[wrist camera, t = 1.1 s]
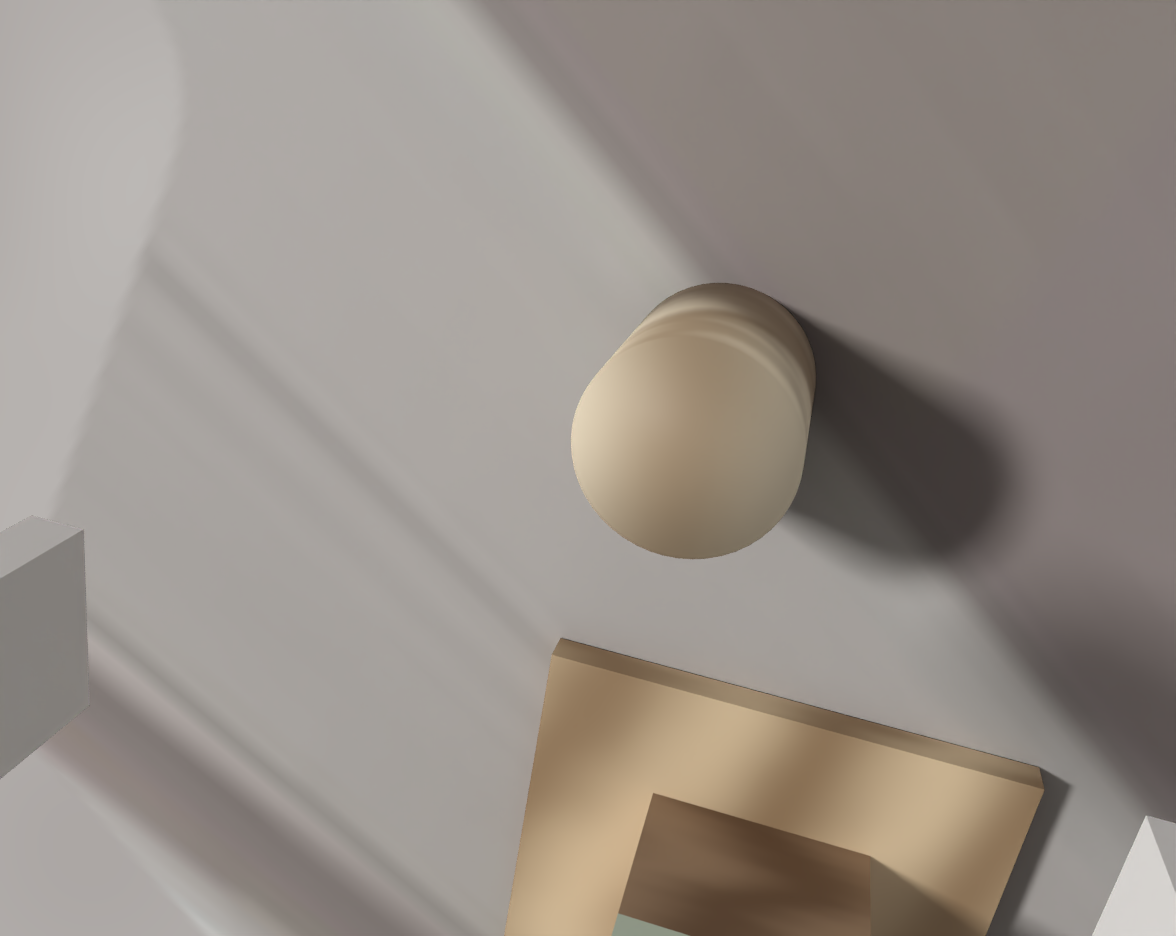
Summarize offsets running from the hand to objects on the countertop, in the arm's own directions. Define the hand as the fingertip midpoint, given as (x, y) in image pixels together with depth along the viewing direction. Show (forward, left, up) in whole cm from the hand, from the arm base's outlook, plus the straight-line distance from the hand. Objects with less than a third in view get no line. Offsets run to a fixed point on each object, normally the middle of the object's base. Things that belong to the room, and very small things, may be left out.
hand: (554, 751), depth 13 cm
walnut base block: (-4, +16, -16) cm, 23 cm away
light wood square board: (-4, +16, -17) cm, 23 cm away
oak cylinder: (0, 0, -17) cm, 17 cm away
